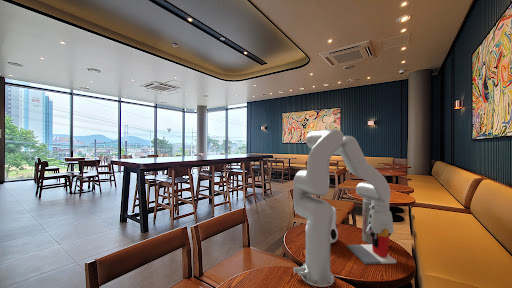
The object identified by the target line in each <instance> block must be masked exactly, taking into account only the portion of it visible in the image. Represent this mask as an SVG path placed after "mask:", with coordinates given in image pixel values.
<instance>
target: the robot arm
mask: <svg viewBox="0 0 512 288" xmlns="http://www.w3.org/2000/svg"><path fill="white" fill-rule="evenodd" d="M305 142H306V145H307V147H308V148H310V151H309V153H308V155H307V163H306V164H307V165H306V169H300V170H298V171H297V172H296V173H295V176H293V177H294V178H293V182H292V186H293V187H292V188H293V189H292V190H293V192H292V197H293V198H292V199H293V202H292V203H293V209H294V211H295V213H296V214H297V215H298V216H300V217H302V218H305V219H306V220H307V219H308V220H309V221H310V223H309V225H308V227H307V229H306V228H305V259H304V260H305V262H304V263H303V264H302V265H301V266H300V267H297V266H295V267H293V273H295V274H296V273H297V275H298V277H301V278H302V280H303V282H305V284H307V283H308V284H307V285H309V284H310V285H314V286H319V287H326V286H330V285H332V284H333V282H334V283H335V276H334V275H333V273H332V272H331V244H330V234H331V224H332V219H333V208H332V207H333V206H332V205H331V204H330V203H329V202H328V201H326V200H324V199H323V198H318V197H324V196H326V195H327V194H328V193H329V189H330V161H331V159H332V156H333V155H339V156H340V157H341V159H342V161H343V163H344V164H345V166H346V168H347V170H348V172H350V173H351V174H353V175H354V176H356V177H358V178H360V179H362V180H364V181H361V182H358V183H357V185H356V187H355V193H356V194H357V195H358V196H359V197H361V198H362V199H364V198H367V199H371V206H369V208H371V210H370V212H369V218H368V227H367V229H366V232H367V233H368V234H370V235H371V237H372V244H373V246H375V247H376V248H378V239H377V235H378V234H381V233H383V232H384V229H385V230H387V229H388V230H389V235H388V236H389V237H390V236H391V235H392V234H393V233H395V229H394V222H393V221H394V220H393V214H392V211H390V198H391V194H392V193H391V188H390V184H389V183H388V180H386V178H385V177H384V175H383V174H382V173H380V172H379V170H377V169H376V168H374V167H373V166H372V165H371V164H370V163H369V162H368V160H367V159H366V157H365V154H364V153H363V151H362V148H361V147H360V145H359V142H358V140H357V139H356V138H355V137H354V136H352V135H344V133H343V132H342V131H341V130H339V129H336V128H329V129H327V128H326V129H318V130H317V129H316V130H312V131H309V132H308V133H307V135H306V137H305ZM315 196H317V197H315ZM370 230H372V232H370ZM374 233H375V234H374ZM310 285H309V286H310ZM333 285H334V284H333ZM333 285H332V286H333Z"/></svg>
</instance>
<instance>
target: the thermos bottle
mask: <svg viewBox="0 0 512 288" xmlns="http://www.w3.org/2000/svg"><path fill="white" fill-rule="evenodd" d="M369 206H371V199H367V198H362V225H361V226H362V228H361V229H362V230H361V231H362V232H361V234H362V235H361V236H362V237H361V238H362V241H363V242H365V243H367V244H372V237H371V235H370V234H368V233H367V232H366V229H367V227H368V218H369V212H370V210H371V208H369ZM370 232H371V230H370Z"/></svg>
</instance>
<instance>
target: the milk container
mask: <svg viewBox="0 0 512 288" xmlns="http://www.w3.org/2000/svg"><path fill="white" fill-rule="evenodd" d="M332 208H333V219H332V224H331V234H330V245H332V244H334V243H335V242H337V240H338V237H339V232H338V231H339V230H338V227H337V210H336V208H335V207H334V206H332ZM306 221H307V222H306V225H305V230H306V229H307V227H308V225H309V223H310V221H309V220H308V219H306Z"/></svg>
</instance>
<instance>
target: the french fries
mask: <svg viewBox="0 0 512 288" xmlns="http://www.w3.org/2000/svg"><path fill="white" fill-rule="evenodd" d="M371 232H372V230H371ZM374 234H375V233H374ZM388 235H389V230H388V229H387V230H385V229H384V232H383V233H381V234H378V235H377V239H378V248H376V247H375V246H373V244H372V248H373V252H375V253H376V254H378V255H379V256H382V257H387V256H388V255H389V253H388V251H389V241H390V236H388Z"/></svg>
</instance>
